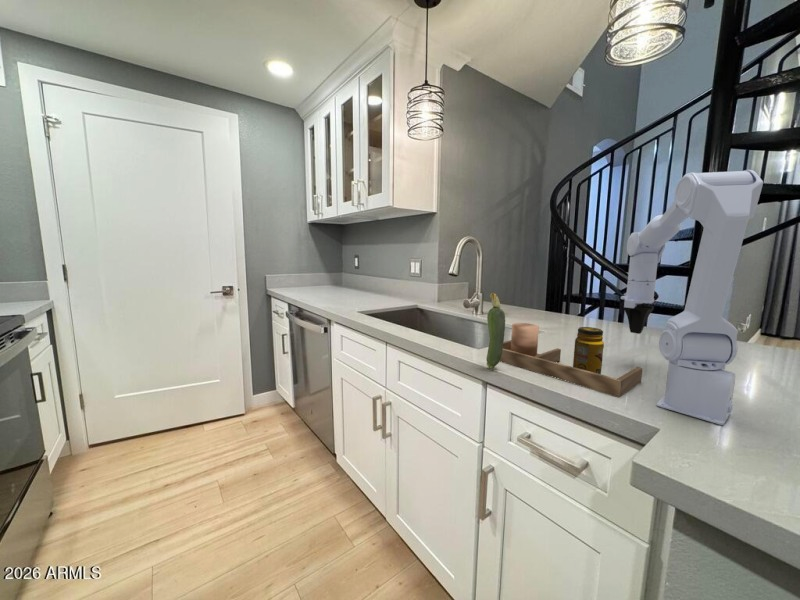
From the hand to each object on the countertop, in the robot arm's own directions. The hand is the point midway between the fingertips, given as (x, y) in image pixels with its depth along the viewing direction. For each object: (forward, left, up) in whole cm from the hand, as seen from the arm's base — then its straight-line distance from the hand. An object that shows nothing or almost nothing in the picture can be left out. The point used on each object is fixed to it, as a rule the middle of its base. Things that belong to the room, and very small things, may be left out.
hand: (635, 332), depth 85 cm
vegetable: (+21, +31, -10) cm, 39 cm away
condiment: (+5, +18, -10) cm, 21 cm away
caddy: (+11, +17, -9) cm, 23 cm away
